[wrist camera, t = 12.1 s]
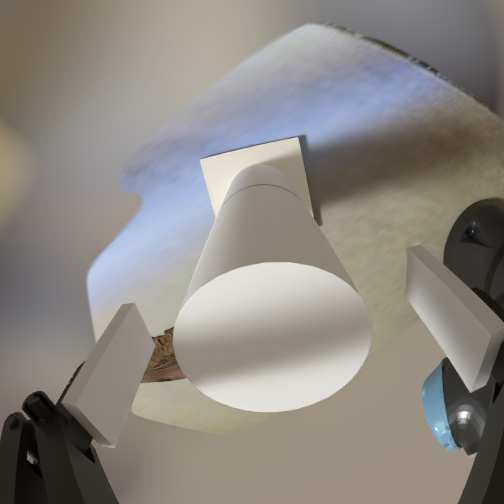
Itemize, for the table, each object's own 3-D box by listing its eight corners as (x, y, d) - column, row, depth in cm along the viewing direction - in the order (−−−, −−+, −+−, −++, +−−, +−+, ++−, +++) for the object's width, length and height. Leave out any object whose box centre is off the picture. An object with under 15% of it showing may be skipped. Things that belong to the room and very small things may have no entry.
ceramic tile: (296, 137, 31) (298, 137, 30) (314, 227, 35) (315, 230, 35) (201, 158, 32) (199, 159, 31) (225, 246, 37) (224, 249, 36)
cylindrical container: (255, 151, 31) (258, 212, 8) (305, 191, 33) (407, 333, 10) (215, 201, 33) (140, 359, 10) (264, 237, 35) (281, 428, 12)
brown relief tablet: (211, 299, 40) (210, 303, 39) (254, 350, 44) (254, 355, 43) (98, 357, 46) (96, 361, 45) (139, 394, 49) (138, 398, 48)
